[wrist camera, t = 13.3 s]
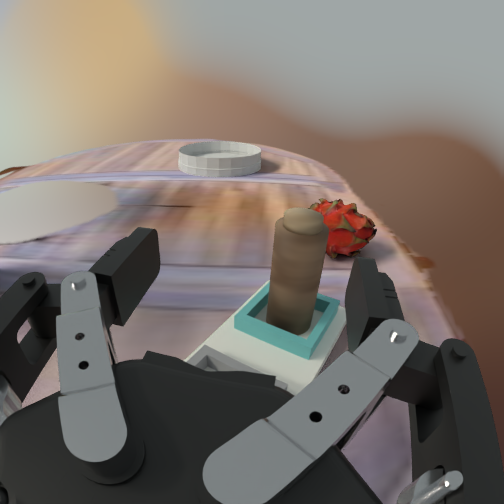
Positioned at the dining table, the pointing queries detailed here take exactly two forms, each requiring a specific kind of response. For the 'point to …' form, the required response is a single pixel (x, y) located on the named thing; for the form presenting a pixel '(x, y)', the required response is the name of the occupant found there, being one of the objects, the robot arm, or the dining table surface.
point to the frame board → (272, 343)
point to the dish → (219, 159)
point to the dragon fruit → (344, 227)
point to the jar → (296, 269)
